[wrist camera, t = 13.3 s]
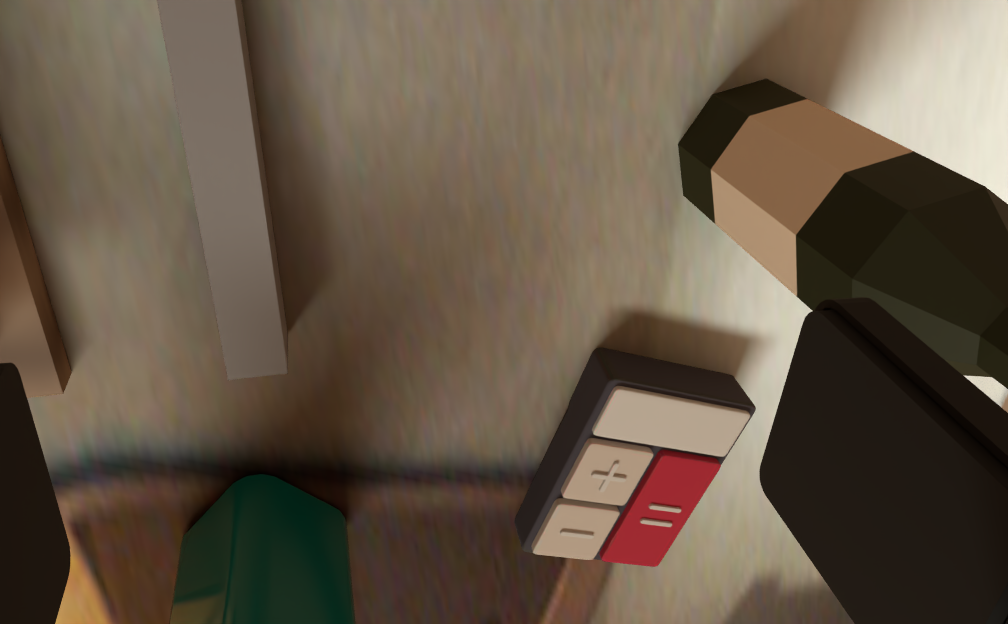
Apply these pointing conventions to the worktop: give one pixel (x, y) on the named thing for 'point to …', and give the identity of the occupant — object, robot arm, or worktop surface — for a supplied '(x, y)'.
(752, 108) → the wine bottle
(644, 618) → the worktop surface
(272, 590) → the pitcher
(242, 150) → the block
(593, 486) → the calculator
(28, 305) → the peg stand
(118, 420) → the worktop surface
